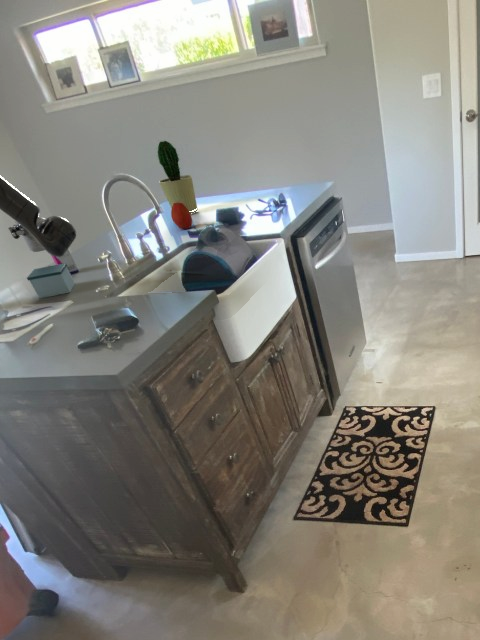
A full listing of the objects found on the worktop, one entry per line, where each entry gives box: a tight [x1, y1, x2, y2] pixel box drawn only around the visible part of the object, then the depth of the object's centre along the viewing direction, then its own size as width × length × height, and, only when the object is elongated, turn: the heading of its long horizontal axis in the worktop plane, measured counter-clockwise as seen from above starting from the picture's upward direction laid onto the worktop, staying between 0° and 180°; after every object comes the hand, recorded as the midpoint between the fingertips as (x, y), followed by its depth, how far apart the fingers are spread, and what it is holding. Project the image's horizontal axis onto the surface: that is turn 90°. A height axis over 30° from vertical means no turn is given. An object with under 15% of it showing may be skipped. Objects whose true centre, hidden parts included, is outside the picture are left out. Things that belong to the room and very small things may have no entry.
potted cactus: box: [155, 139, 199, 214], centre depth 244 cm, size 15×15×30 cm
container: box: [26, 263, 76, 299], centre depth 176 cm, size 11×11×7 cm
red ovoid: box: [170, 201, 193, 230], centre depth 225 cm, size 8×8×11 cm
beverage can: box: [14, 220, 46, 253], centre depth 167 cm, size 6×6×12 cm
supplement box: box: [50, 249, 80, 275], centre depth 191 cm, size 6×6×12 cm
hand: (27, 225), depth 168 cm, fingers closed on beverage can, 6 cm apart
